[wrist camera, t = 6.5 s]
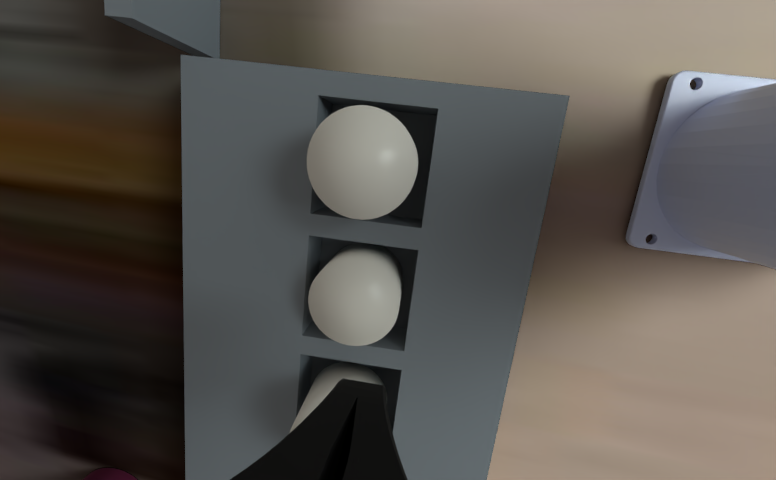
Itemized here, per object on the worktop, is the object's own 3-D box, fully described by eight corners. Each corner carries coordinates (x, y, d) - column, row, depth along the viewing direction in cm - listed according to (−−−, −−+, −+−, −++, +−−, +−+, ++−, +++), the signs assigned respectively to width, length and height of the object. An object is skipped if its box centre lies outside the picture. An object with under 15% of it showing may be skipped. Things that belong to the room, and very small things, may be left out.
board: (544, 106, 17) (569, 95, 14) (459, 525, 23) (464, 579, 20) (219, 71, 18) (180, 54, 15) (214, 480, 24) (185, 525, 21)
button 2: (407, 247, 18) (404, 266, 15) (398, 319, 19) (393, 352, 16) (331, 236, 19) (311, 253, 15) (325, 308, 20) (305, 338, 16)
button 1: (424, 121, 16) (424, 111, 12) (412, 213, 17) (409, 226, 13) (333, 111, 16) (310, 98, 13) (326, 201, 17) (303, 212, 14)
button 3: (391, 368, 18) (384, 414, 15) (382, 435, 19) (374, 492, 16) (314, 356, 19) (291, 398, 15) (309, 422, 20) (286, 476, 16)
